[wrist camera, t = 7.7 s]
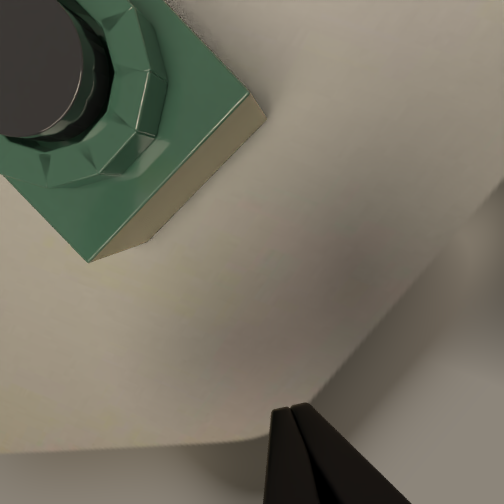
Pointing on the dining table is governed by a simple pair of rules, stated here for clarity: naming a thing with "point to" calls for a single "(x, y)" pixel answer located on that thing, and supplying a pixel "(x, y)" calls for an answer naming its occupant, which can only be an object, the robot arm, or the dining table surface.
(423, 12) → the dining table surface
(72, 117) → the dark round knob
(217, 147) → the button base
